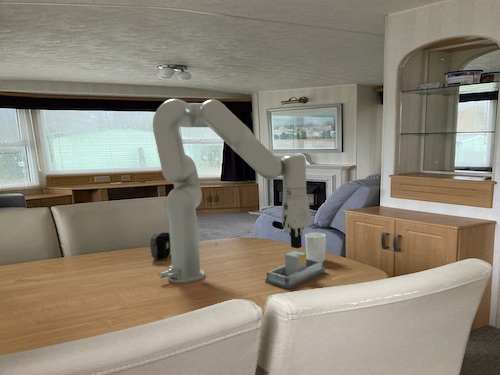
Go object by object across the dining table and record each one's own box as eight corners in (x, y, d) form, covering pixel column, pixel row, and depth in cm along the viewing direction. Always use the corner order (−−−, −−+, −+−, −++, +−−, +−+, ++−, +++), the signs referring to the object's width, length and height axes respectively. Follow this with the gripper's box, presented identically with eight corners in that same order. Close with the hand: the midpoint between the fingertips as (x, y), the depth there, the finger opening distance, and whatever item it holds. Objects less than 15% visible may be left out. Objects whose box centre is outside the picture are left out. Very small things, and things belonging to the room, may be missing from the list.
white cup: (325, 257, 142) (324, 232, 141) (327, 263, 134) (327, 237, 133) (304, 257, 143) (304, 232, 142) (305, 263, 135) (305, 237, 134)
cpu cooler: (158, 254, 154) (156, 230, 153) (171, 253, 154) (170, 230, 153) (150, 261, 144) (149, 236, 143) (164, 261, 143) (163, 236, 142)
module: (297, 277, 118) (297, 257, 117) (285, 274, 122) (285, 254, 121) (306, 273, 122) (306, 253, 121) (294, 270, 125) (294, 250, 124)
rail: (289, 289, 111) (289, 278, 111) (265, 281, 118) (264, 271, 118) (325, 272, 125) (325, 262, 125) (301, 266, 132) (301, 257, 132)
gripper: (289, 196, 111) (291, 254, 113) (317, 190, 121) (318, 244, 123) (271, 194, 116) (273, 250, 118) (299, 189, 127) (300, 241, 129)
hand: (296, 247), depth 121 cm, fingers closed
